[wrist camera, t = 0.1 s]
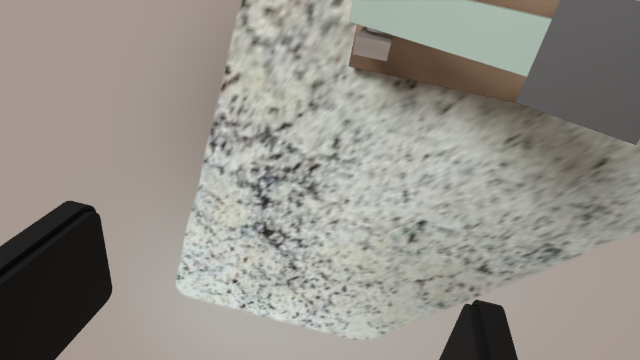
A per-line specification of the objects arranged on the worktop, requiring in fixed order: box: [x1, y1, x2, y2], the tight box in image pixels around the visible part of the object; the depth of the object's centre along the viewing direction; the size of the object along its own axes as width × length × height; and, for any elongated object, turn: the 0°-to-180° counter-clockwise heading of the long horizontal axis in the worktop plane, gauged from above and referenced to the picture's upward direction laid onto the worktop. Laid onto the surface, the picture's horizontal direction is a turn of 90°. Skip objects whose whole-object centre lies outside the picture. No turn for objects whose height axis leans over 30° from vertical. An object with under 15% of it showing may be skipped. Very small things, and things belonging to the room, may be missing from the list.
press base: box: [349, 0, 560, 103], centre depth 29 cm, size 12×18×10 cm, turn 80°
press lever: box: [349, 0, 640, 145], centre depth 23 cm, size 6×19×2 cm
